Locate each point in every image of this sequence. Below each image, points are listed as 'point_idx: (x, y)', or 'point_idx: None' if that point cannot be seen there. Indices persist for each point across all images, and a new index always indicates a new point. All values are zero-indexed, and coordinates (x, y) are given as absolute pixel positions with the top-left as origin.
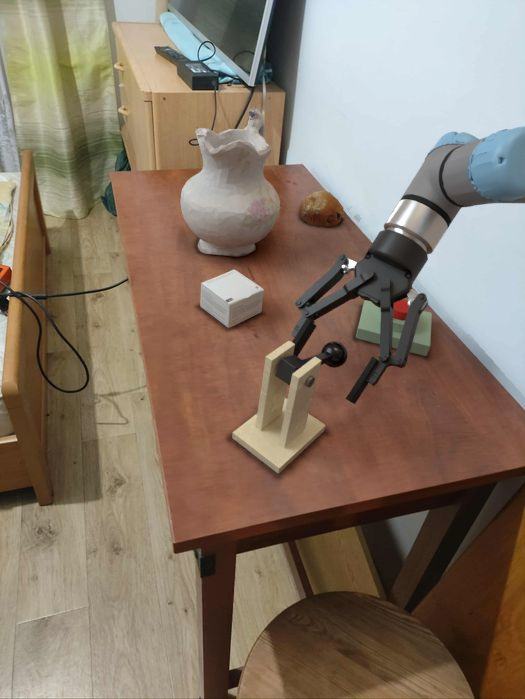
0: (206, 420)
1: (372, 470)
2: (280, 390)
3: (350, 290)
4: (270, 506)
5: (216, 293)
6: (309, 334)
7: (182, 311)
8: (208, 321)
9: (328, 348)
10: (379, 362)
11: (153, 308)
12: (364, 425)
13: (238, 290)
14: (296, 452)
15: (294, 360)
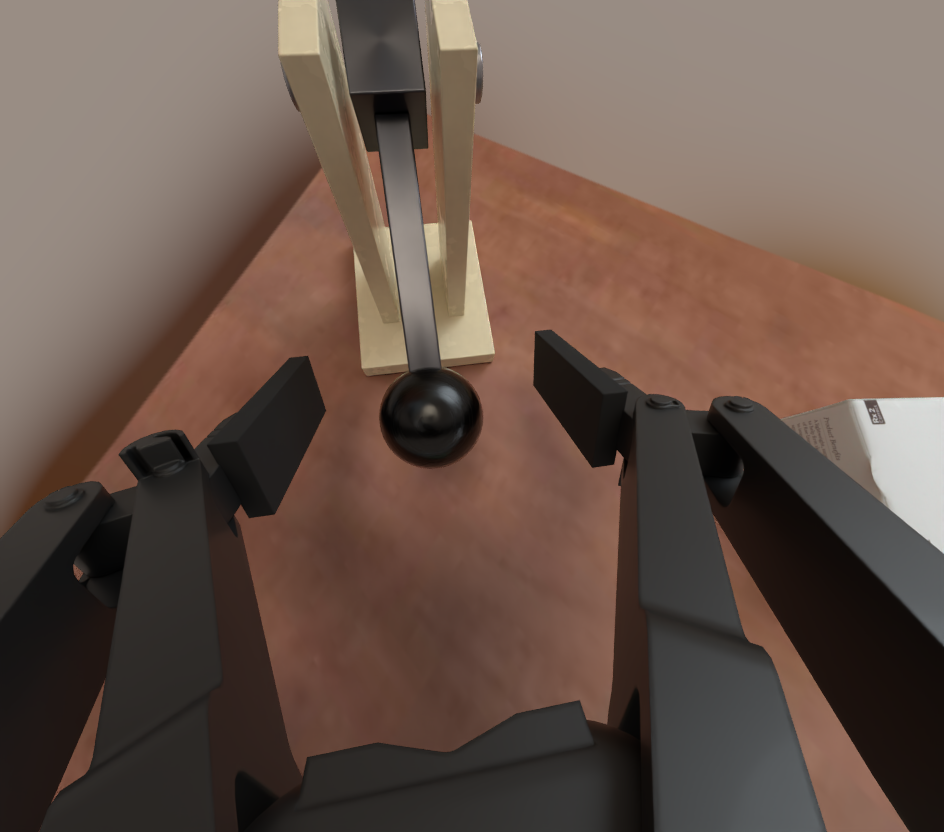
0: (531, 226)
1: (227, 380)
2: (442, 225)
3: (645, 635)
4: (322, 198)
5: (919, 399)
6: (574, 426)
7: (862, 373)
8: (804, 401)
9: (442, 372)
10: (210, 463)
11: (890, 326)
12: (312, 464)
13: (920, 471)
14: (355, 274)
15: (385, 40)
